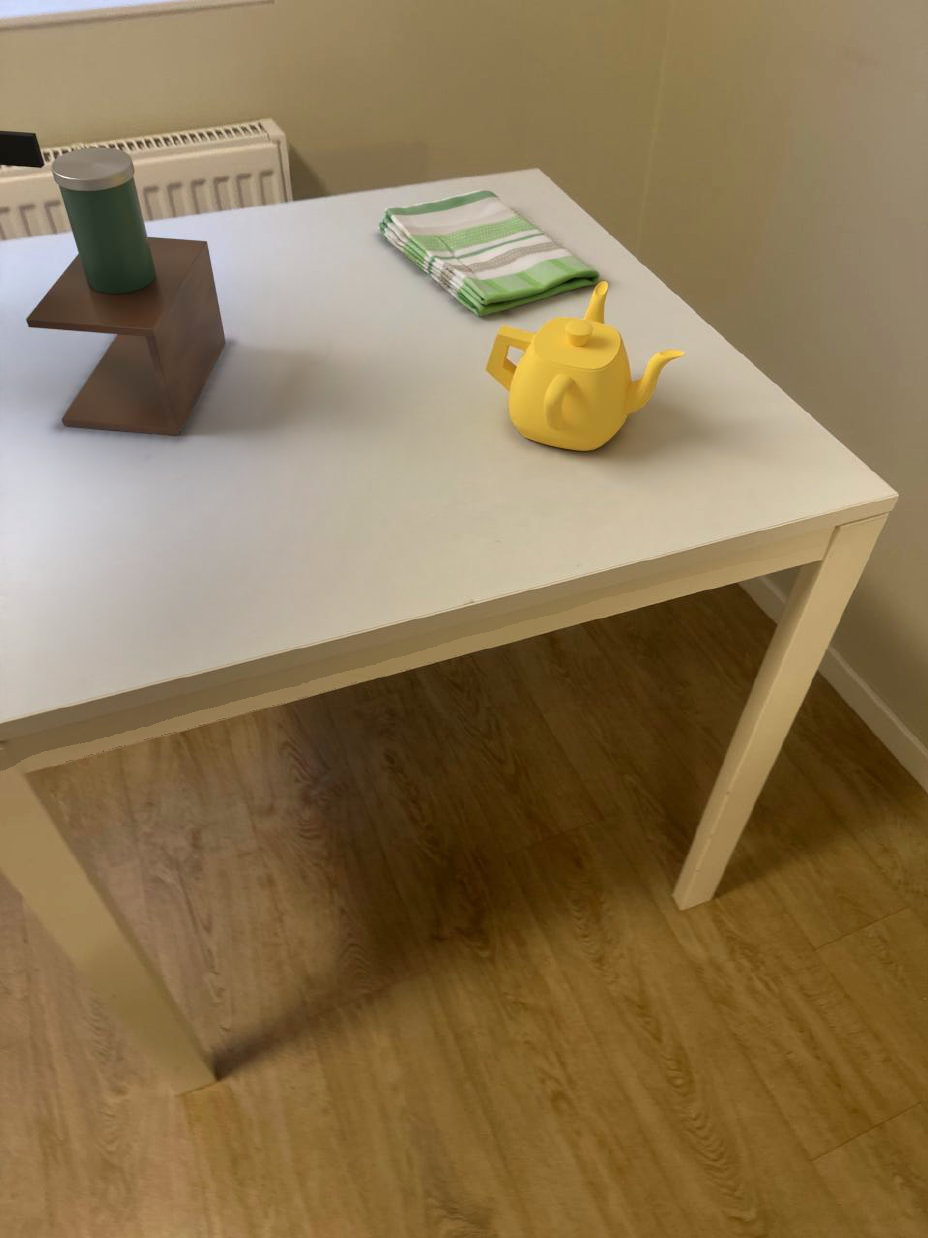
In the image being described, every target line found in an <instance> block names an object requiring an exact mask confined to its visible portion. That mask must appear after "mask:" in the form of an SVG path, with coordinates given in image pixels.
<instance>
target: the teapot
mask: <svg viewBox="0 0 928 1238" xmlns="http://www.w3.org/2000/svg"><path fill="white" fill-rule="evenodd" d="M608 291H609V284H608V282H607V281H605V280H602V281H600V282H598V283H597V284H596V286H595V288H594V289H593V292H592V295H591V298H590V301H589V304H588V307H587V309H586V312H585V314H584V317H583V318H577V317H569V316H558V317H555V318H552V319H550V320H548V321H546V322H545V323H544V324H543V325H542V326H541V327H540V328H539V329H538V331H537V332H536V333H535V332H533V331H528V330H524V329H521V328H518V327H517V328H516V327H513V326H509V325H505V324H501V325H500V327H499V329H498V331H497V333H496V336H495V339H494V341H493V345H492V348H491V352H490V354H489V358H488V360H487V363H486V367H485V370H484V371H486V372H487V373H488V374H489V376H491V377H492V378H494V380H496V381H497V382H498V383H499V384H500V385H501V386H502V387H503V388H505V390H507V391H508V392H509V393H508V403H507V405H508V406H507V407H508V413H509V418H510V420H511V422H512V424H513V426H514V427H515V429H516V430H517V432H518V433H520V435H522V436H523V437H524V438H526V439H528V440H531V441H534V442H536V443H540V444H543V445H547V446H551V447H555V448H560V449H565V450H572V451H582V452H583V451H594V450H597V449H599V448H600V447H602V446H604V445H605V444H606V443H607V442H609V441H610V440H611V439H612V438H613V437H614V436H615V435H616V434H617V433H618V432H619V430H620V429H621V428H622V427H623V425H624V424H625V422H626V420H627V418H628V417H629V414H633V413H635V412H637V411H639V410H640V409H642V408H643V407H645V405H646V404H647V403H649V400H650V399H651V397H652V396H653V394H654V391H655V389H656V385H657V383H658V379H659V377H660V374H661V372H662V370H663V369H664V367H665V366H666V365H667V364H669V363H670V362H671V361H673V360H675V359H677V358H680V357H682V356H684V355H685V352H684V351H682V350H678V349H667V350H666V349H665V350H661V351H658V352H656V353H655V354H653V356H652V357H651V358H650V359H649V361H648V363H647V365H646V368H645V370H644V373H643V375H642V377H641V378H640V379H638V380H635V381H632V380H633V379H632V371H631V366H630V365H631V364H630V361H629V355H628V353H627V350H626V347H625V343H624V340H623V337H622V334H621V333H620V331H619V330H618V329H616V328H615V327H614V326H612V325H609V324H605V306H606V300H607V299H606V298H607V294H608ZM510 347H513V348H515V349H517V350H521V351H523V353H522V355H521V357H520V359H519V361H518V363H517V365H516V364H515V363H514V362H512V361H511V360H510V359H509V358H508V354H509V350H510Z"/></svg>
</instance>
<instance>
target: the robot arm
mask: <svg viewBox="0 0 928 1238" xmlns="http://www.w3.org/2000/svg"><path fill="white" fill-rule="evenodd" d="M37 137H38V136H37V134H36V132H27V131H12V130H0V166H6V167H7V166H9V167H21V168H35V169H42V168H43V167H44V166H45V165H46V164H45V160H44V157H43V154H42V151H41V150H42V149H41V147H40V144H39V139H38V138H37Z"/></svg>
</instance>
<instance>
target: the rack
mask: <svg viewBox="0 0 928 1238" xmlns="http://www.w3.org/2000/svg"><path fill="white" fill-rule="evenodd" d="M147 237H148V241H149V245H150V250H151V254H152V258H153V262H154V267H155V271H156V277H155V279H154V281H153V282H152V283H151V284H149V285H148V286H146V287H144V288H142V289H140V290H137V291H134V292H129V293H123V294H107V293H102V292H98V291H96V290H94V289H92V288H91V287H90V286H89V285H88V283H87V280H86V277H85V273H84V270H83V266H82V263H81V260H80V256H79V253H78V254H77V255H76V256H75V257H74V258H73V260H72V261H71V262H70V264H69V265H68V266H67V267H66V269H65V270H64V271H63V272H62V273H61V275H60V276H59V277H58V279H57V280H56V281H55V282H54V283H53V285H52V286H51V287H50V288H49V290H48V291H47V292H46V294H45V295H44V296H43V297H42V299H41V300H40V301H39V302H38V304H37V305H36V306H35V307H34V309H32V311H31V312H30V314H29V315H28V316H27V317H26V318H25V321H26V324H27V327H28V328H33V329H44V330H45V329H46V330H58V331H71V332H82V333H96V334H108V335H116V336H115V337H114V339H113V340H112V341H111V343H110V345H109V346H108V348H107V350H106V351H105V353H104V354H103V356H102V357H101V358H100V360H99V362H98V363H97V364H96V366H95V367H94V370H92V372H91V374H90V375H89V377H88V379H87V380H86V381H85V382H84V384H83V386H82V387H81V389H80V390H79V392H78V393H77V395H76V396H75V398H74V400H73V401H72V402H71V404H70V406H69V407H68V409H67V410H66V412H65V413H64V415H63V416H62V417H61V422H62V426H63V427H70V428H82V429H95V430H105V431H106V430H107V431H119V432H127V433H129V432H131V433H140V434H141V433H142V434H154V435H162V436H163V435H165V436H175V437H176V436H177V437H179V436H180V435H181V432H182V431H183V428H184V426H185V425H186V422H187V421H188V418H189V417H190V415H191V412H193V411H192V410H193V408H194V406H195V405H196V403H197V401H198V399H199V397H200V395H201V393H202V391H203V389H204V387H205V385H206V383H207V381H208V379H209V377H210V375H211V374H212V372H213V370H214V368H215V366H216V364H217V362H218V359H219V358H220V355H221V354H222V352H223V350H224V348H225V346H226V344H227V341H226V337H225V335H226V334H225V331H224V325H223V319H222V314H221V309H220V303H219V298H218V292H217V288H216V282H215V277H214V276H215V275H214V271H213V265H212V261H211V260H212V259H211V256H210V255H211V254H210V248H209V245H208V241H207V240H199V239H198V240H197V239H186V238H185V239H183V238H173V237H172V238H170V237H158V236H147Z"/></svg>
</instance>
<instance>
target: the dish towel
mask: <svg viewBox="0 0 928 1238" xmlns="http://www.w3.org/2000/svg"><path fill="white" fill-rule="evenodd" d="M384 213H385V215H383V216H382V221H380V222H378V228H377V230H378V231H380V233H381V234H382V235H383V236H384V238H385V239H386V240H387V241H388V242H389V243H391V244H392V245H393V246H394V247H395V248H396V249H397V250H399V251H400V252H402V254H403V255H404V256H405V257H407V258H408V259H409V260H410V261H412V262H413V263H414V264H415V265H416V266H418V268H419V269H421V270H422V272H423V271H424V272H425V273H426V274H428V275H429V276H430V277H431V278H432V279H433V280H435V281H436V282H437V283H438V285H440V287H442V288H443V289H444V290H445V291H446V292H447V293H449V294H450V295H451V296H452V297H454V298H455V299H456V300H457V301H458V302H459V303H460V304H462V305H463V306H464V307H466V308H467V309H468V310H469V311H470V312H472V313H474V315H476V316H478V317H484V316H487V315H490V314H494V313H499V312H503V311H506V310H508V309H509V310H510V309H512V308H515V307H518V306H522V305H525V304H528V303H532V302H535V301H539V300H542V299H546V298H548V297H551V296H554V295H557V294H561V293H564V292H568V291H572V290H576V289H580V288H583V287H590V286H594V285H597V282H598V281H599V279H600V272H599V271H598V270H597V269H595V268H593V267H591V266H589V265H588V264H587V263H585V262H584V261H583V260H581V258H579V257H577V256H576V255H575V254H573V253H572V252H570V250H568V249H567V248H565V247H564V246H563V245H562V244H559V243H558V242H556V241H555V240H553V239H552V238H551V237H549V236H548V235H546V234H545V233H544V232H543V231H542V230H540V229H539V228H538V227H537V226H535V224H533V223H531V221H529V220H527V219H526V218H523V217H522V216H521V215H520V214H517V212H515V211H514V210H513V209H512V208H511V207H509V206H508V205H507V204H506V203H504V201H502V200H501V198H500V197H499V196H498V195H497V194H496V193H494V192H493V191H491V190H487V189H477V190H470V191H468V192H464V193H460V194H456V195H453V196H448V197H446V198H441V199H438V200H433V201H424V202H419V203H416V204H411V205H406V206H390V207H389V206H387V207H385V208H384Z"/></svg>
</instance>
